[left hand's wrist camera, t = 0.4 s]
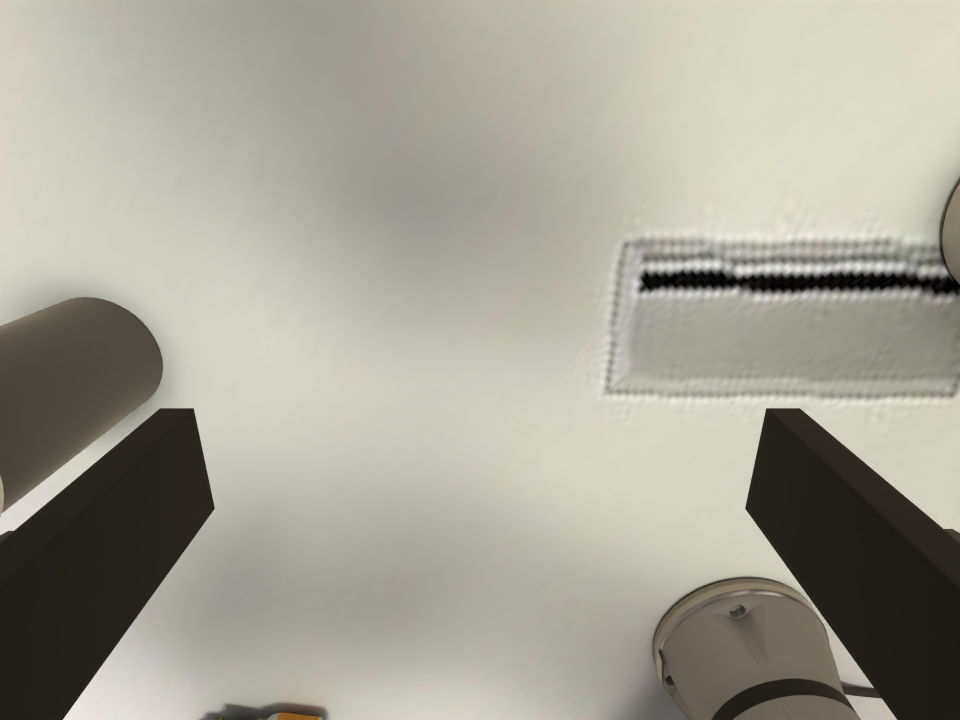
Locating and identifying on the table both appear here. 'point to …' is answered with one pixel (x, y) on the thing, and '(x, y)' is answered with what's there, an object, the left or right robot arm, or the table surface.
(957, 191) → the bust sculpture
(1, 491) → the lid
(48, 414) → the jar
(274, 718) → the spray gun
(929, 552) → the left robot arm
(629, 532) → the table surface
